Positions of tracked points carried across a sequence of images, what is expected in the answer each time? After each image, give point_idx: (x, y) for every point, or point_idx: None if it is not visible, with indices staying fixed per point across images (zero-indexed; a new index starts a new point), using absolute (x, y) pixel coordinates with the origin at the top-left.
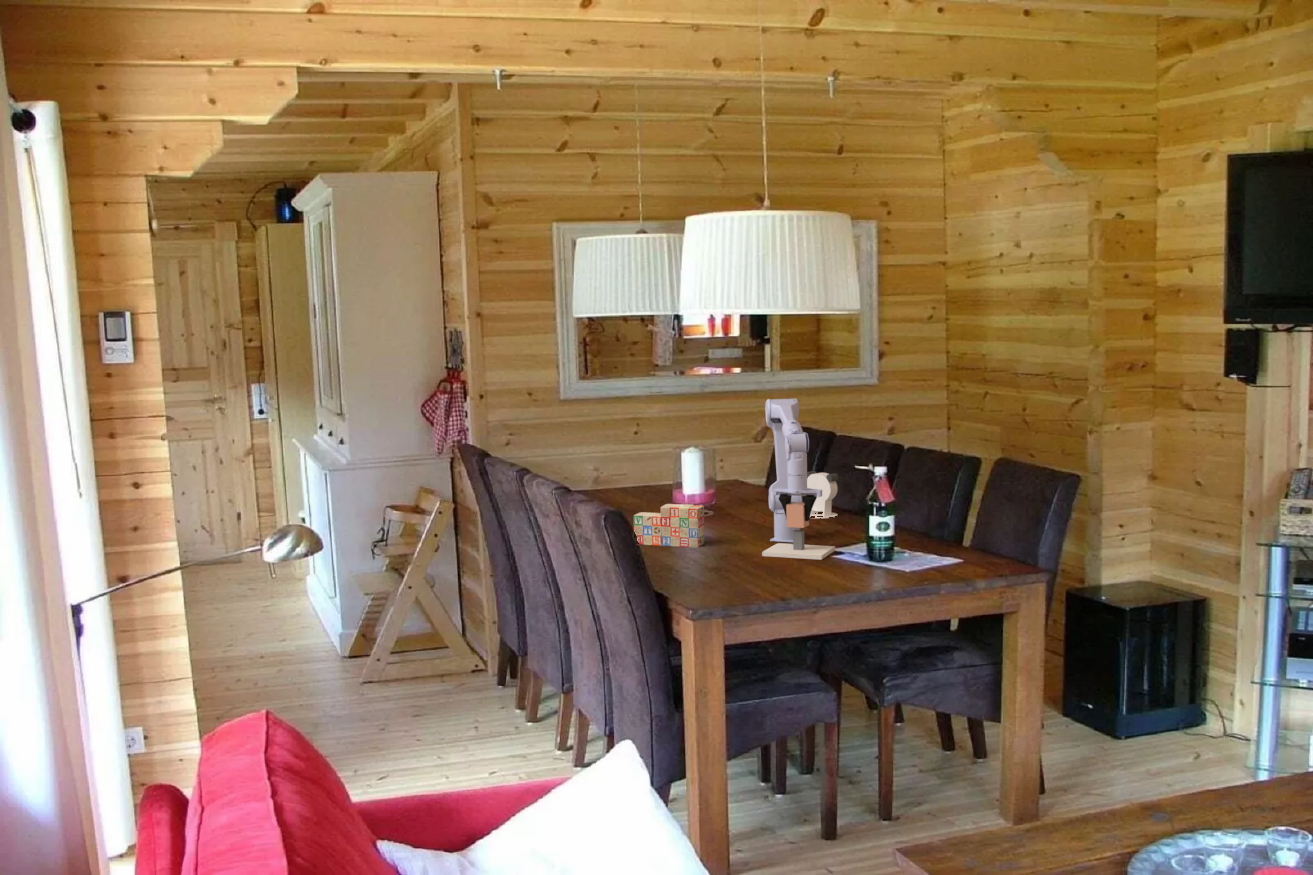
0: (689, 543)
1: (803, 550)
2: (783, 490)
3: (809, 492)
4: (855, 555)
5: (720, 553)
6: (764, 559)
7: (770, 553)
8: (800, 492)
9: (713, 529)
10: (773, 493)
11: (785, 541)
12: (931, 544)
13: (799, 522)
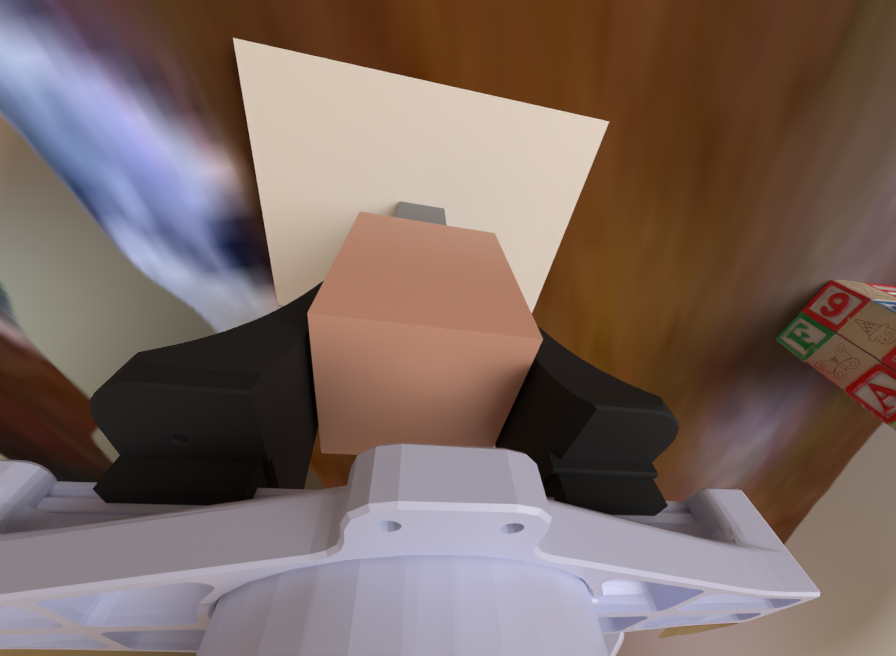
0: (877, 289)
1: (390, 197)
2: (670, 561)
3: (87, 536)
4: (137, 205)
5: (794, 165)
6: (597, 3)
7: (561, 111)
8: (287, 512)
9: (679, 475)
10: (755, 510)
11: None
12: (20, 418)
13: (390, 233)
